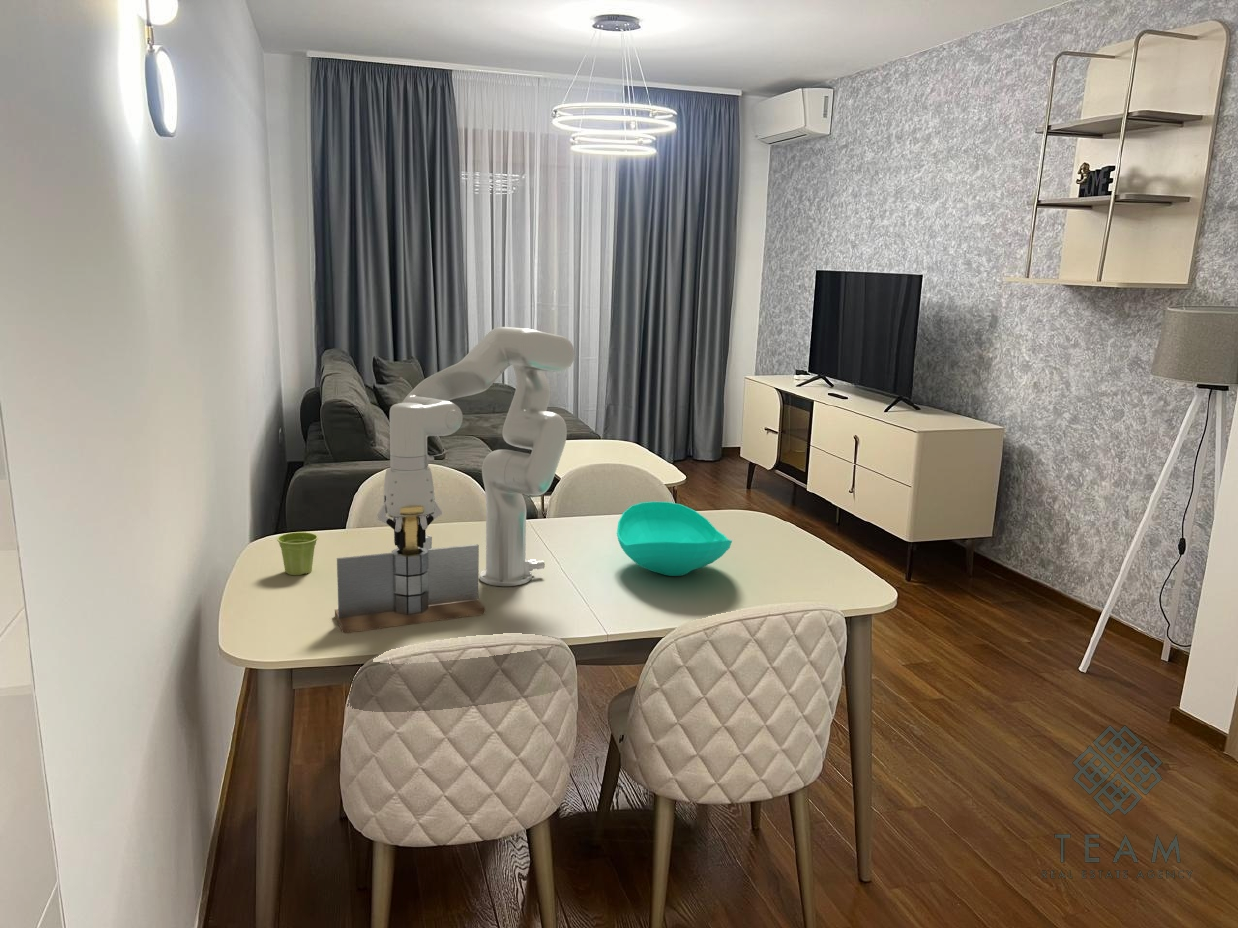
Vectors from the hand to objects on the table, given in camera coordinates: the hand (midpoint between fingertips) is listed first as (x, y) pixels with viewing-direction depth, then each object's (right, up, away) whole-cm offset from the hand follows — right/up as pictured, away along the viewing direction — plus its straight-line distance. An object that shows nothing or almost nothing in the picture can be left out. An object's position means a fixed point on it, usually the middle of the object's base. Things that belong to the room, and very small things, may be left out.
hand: (410, 546), depth 200 cm
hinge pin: (0, -4, +1) cm, 4 cm away
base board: (-1, -15, +3) cm, 15 cm away
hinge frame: (-6, -14, 0) cm, 15 cm away
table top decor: (+58, -10, +39) cm, 70 cm away
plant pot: (-33, -9, +29) cm, 45 cm away
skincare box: (-3, -11, +22) cm, 25 cm away
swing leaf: (+5, -13, +5) cm, 15 cm away
